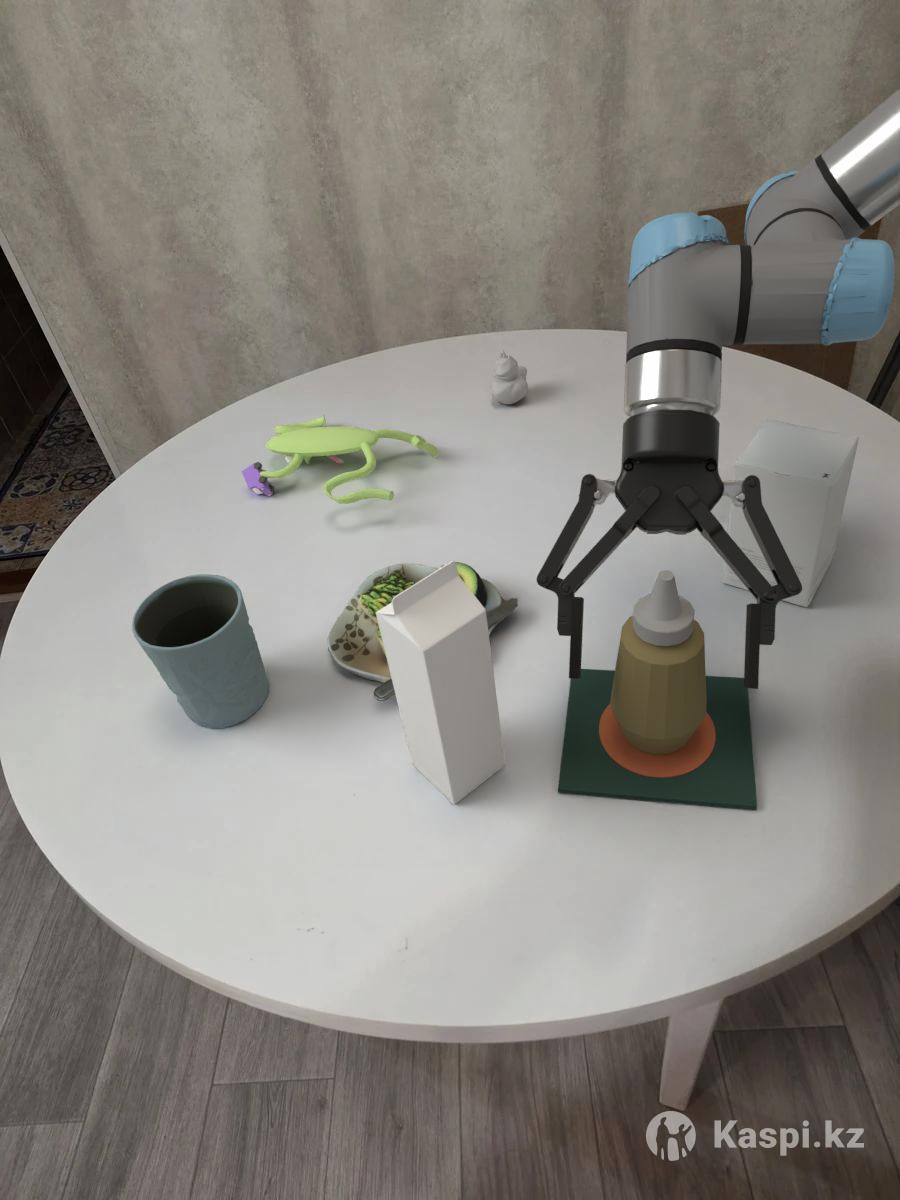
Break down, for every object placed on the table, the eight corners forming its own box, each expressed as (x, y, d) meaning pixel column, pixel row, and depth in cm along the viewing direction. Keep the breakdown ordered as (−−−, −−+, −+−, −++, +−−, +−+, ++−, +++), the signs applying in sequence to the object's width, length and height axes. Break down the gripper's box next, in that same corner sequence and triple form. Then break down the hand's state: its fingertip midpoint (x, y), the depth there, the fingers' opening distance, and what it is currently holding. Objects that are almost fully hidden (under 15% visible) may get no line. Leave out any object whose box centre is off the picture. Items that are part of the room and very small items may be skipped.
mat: (746, 682, 80) (747, 676, 79) (756, 810, 70) (757, 805, 69) (572, 672, 83) (572, 667, 83) (558, 793, 73) (557, 788, 73)
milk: (412, 765, 77) (364, 580, 63) (463, 728, 80) (429, 541, 65) (455, 807, 74) (415, 619, 59) (507, 766, 76) (482, 576, 61)
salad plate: (458, 732, 79) (452, 699, 76) (294, 687, 86) (283, 655, 83) (530, 596, 92) (527, 563, 89) (382, 566, 99) (375, 534, 96)
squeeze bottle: (713, 707, 77) (733, 552, 65) (691, 778, 72) (709, 622, 60) (624, 686, 80) (628, 533, 68) (597, 752, 75) (596, 599, 63)
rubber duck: (482, 404, 123) (476, 352, 118) (511, 384, 126) (507, 332, 121) (511, 414, 120) (507, 361, 115) (540, 393, 123) (538, 341, 118)
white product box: (835, 558, 91) (864, 435, 81) (807, 610, 86) (834, 485, 76) (750, 535, 95) (767, 415, 85) (718, 583, 90) (733, 462, 80)
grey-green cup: (289, 705, 84) (257, 616, 76) (191, 753, 81) (146, 666, 73) (254, 645, 91) (221, 558, 83) (162, 687, 88) (119, 601, 80)
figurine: (376, 541, 102) (368, 503, 99) (216, 490, 115) (203, 454, 111) (459, 460, 113) (454, 423, 109) (304, 421, 125) (294, 386, 122)
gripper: (827, 427, 70) (819, 689, 70) (523, 429, 76) (512, 672, 75) (849, 403, 63) (840, 695, 62) (510, 407, 68) (498, 675, 68)
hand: (660, 683), depth 69 cm, fingers open, 13 cm apart
